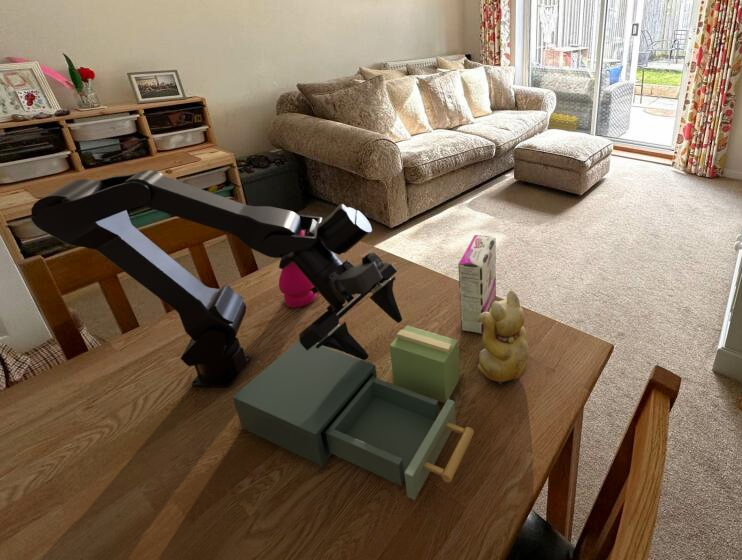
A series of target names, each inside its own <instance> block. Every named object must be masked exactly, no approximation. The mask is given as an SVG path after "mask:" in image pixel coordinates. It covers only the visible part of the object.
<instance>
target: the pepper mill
mask: <svg viewBox="0 0 742 560" xmlns="http://www.w3.org/2000/svg"><path fill="white" fill-rule="evenodd" d="M304 235H305V230H302V231H301V234H300V236H304ZM313 287H314V286H313V285H312V284H311V283H310V281H309V280H308V279H307V278H306V277H305V276H304V274H303V273H302V272H301V271H300V270H299V269H298V268H297V266H296V265H295V264H294V263H293V264H291V265H289V266H287V267H285V268H283V269H281V272H280V275H279V278H278V288H279V291H280V293H282V294H283V297H284V302H285V305H286V306H287V307H290V308H301V307H304V306H305V307H306V306H307V305H309V304H310V303H312V302H313V301H314V300H316V298H317V296H318V295H317V293H318V292H317V293H316V294H314V293H313V292H312V291H311V289H312V288H313Z"/></svg>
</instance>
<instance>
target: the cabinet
mask: <svg viewBox="0 0 742 560" xmlns="http://www.w3.org/2000/svg"><path fill="white" fill-rule="evenodd" d="M318 344H319V343H316V344H315V345H314V346H312V347H311V348H310V349H309V350H306V349H305V348H304V347H303V346H302V344H301V343H300V339H298V340H297V341H296V342H295V343H293V344H292V345H291V346H290V347H289V348H288V349H287V350H285V351H284V352H283V353H282V354H281V355H280V356H279V357H278V358H276V359H275V360H273V362H271V363H270V364H269V365H268V366H267V367H266V368H265V369H264V370H262V371H261V372H260V373H259V374H258V375H257V376H255V377H254V378H252V380H251V381H250V382H248V383H247V384H246V385H244V387H242V388H241V389H240V390H239V391H238V392H237V393H236V394H234V395H233V396H232V401H233V404H234V407H235V410H236V413H237V416H238V420H239V423H240V426H241V428H242V430H245V431H247V432H249V433H251V434H253V435H255V436H258V437H259V438H262V439H264V440H266V441H268V442H270V443H272V444H274V445H276V446H278V447H281V448H283V449H285V450H287V451H289V452H291V453H293V454H295V455H296V456H298V457H301V458H303V459H306V460H308V461H310V462H312V463H314V464H316V465H318V466H320V467H324V465H325V464H327V462H328V461H329V459H330V458H331V457H332V456H333V454H331V453H330V451H329V447H328V442H327V437H326V433H325V432H326V431H327V430H328V429H329V427H330V426H331V425H332V424H333V423H334V421H335V420H336V419H337V418H338V417H339V415H340V414H341V413H342V412H343V411H344V409H345V408H346V407H347V406H348V405H349V404H350V402H351V401H352V400H353V399H354V398H355V396H356V395H357V394H358V393H359V392H360V390H361V389H362V388H363V387H364V386H365V384H366V383H367V382H368V381H369V380H370V378H371V377H372V376H373V377H375V378H378V374H377V368H376V364H374V363H372V362H369V361H366V360H363V359H360V358H358V357H355V356H353V355H350V354H348V353H345V352H342V351H339V350H337V349H333V348H329V347H325V346H321V347H319V348H318V349H317V348H316V347H315V346H316V345H318Z"/></svg>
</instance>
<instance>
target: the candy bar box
mask: <svg viewBox="0 0 742 560" xmlns="http://www.w3.org/2000/svg"><path fill="white" fill-rule="evenodd" d="M496 239H497V237H496V236H489V235H488V236H487V235H481V234H474V235H473V236H472V239H471V241H470V243H469V244H468V246H467V247H466V250H465V251H464V253H463V255H462V256H461V259H460V260H459V262H458V264H457V265H458V284H459V286H458V287H459V303H460V304H459V305H460V327H461V328H460V329H461V331H464V332H468V333H469V332H470V333H475V334H481V335H483V333H484V330H485V326H484V324H483V323H482V322H478V318H479V316H480V314H481V313H483V312H489V310H490V308H491V306H492V303H493V302H494V301H497V277H496V276H497V272H496V271H497V266H496V265H497V264H496V261H497V260H496V259H497V257H496V255H497V252H496V251H497V248H496V246H497V245H496V241H497V240H496ZM494 296H495V297H494Z"/></svg>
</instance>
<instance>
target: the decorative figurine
mask: <svg viewBox="0 0 742 560" xmlns="http://www.w3.org/2000/svg"><path fill="white" fill-rule="evenodd" d="M478 322H482V323H483V324H484V326H485V330H484V333H483V334H482V344H483V346H484V348H482V350H480V352H479V353H478V354H479V355H478V362H479V363H478V364H477V369H478V371H479V372H480V373H481V374H482V375H483V376H485V377H486V378H487V379H489V380H491V381H494V382H497V383H498V384H499V385H502V384H504V382H508V381H513V380H517V379H520V378H521V376H522V375H523V373H524V372H525V370H526V367H527V364H528V363H529V356H530V352H529V351H530V350H529V345H528V342H527V332H526V328H525V327H524V323H525V312H524V309H523V308H522V306H521V301H520V298H519V296H518V294H517V293H516V291H515V290H514V289H510V290H509V291H508V293H507V295H506V299H502V300H496V301H494V302H493V303H492V306H491V308H490V310H489V312H483V313H481V314H480V316H479V318H478Z"/></svg>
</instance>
